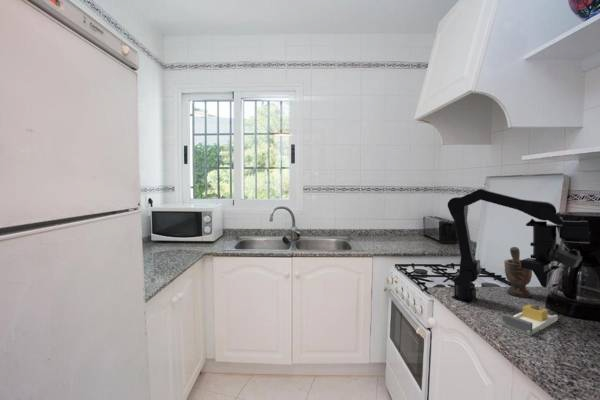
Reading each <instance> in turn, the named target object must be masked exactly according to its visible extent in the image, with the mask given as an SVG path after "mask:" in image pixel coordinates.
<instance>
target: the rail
mask: <svg viewBox="0 0 600 400" xmlns="http://www.w3.org/2000/svg"><path fill="white" fill-rule="evenodd" d="M558 318H559V317H558V314H553V315H551V314H549V313H548V318H547V319H546V320H544V321H542V322H539V321H536V320H533V319H530V318H527V317H524V316H523V310H522V311H520V312H518V313H516V314H515V315H510V314H507V313H504V314H502V326H503V327H504V326H506V327H505V328H507V327H508V328H507V329H510V328H511V329H510V330H512V329H513V331H515V330H516V331H515V332H518V331H519V332H518V333H520V332H522V333H521V334H523V333H524V335H526V334H527V336H528V335H530V336H529V337H531V336H533V335H534V333H535V334H537V333H538V332H540V331H541V329H542V330H543V329H545V328H546V327H549V326H550V325H552V324H553V323H555V322H557V321H558ZM539 330H540V331H539ZM532 334H533V335H532Z"/></svg>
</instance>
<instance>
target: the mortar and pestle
mask: <svg viewBox="0 0 600 400" xmlns="http://www.w3.org/2000/svg"><path fill="white" fill-rule="evenodd" d="M509 251H510V252H509V253H510V256H511V258H512V259H511V258H510V259H505V260H504V261H503V262H504V273H505V276H506V277H505V278H506V279H507V281H508V282H510V284H511V285H510V286H509V287H508V289H507V290H506V293H508V294H509V295H512V296H515V297H518V298H529V297H531V296H532V294H531V292H530V290H529V289H528V288H527V286H528V285H529V284H530V283H531V280H532V277H533V271H532V270H529V269H524V268H521V267H520V261H522V260H523V259H520V253H521V252H520V249H519V247H516V246H512V247H510V249H509Z"/></svg>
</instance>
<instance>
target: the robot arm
mask: <svg viewBox="0 0 600 400" xmlns="http://www.w3.org/2000/svg"><path fill="white" fill-rule="evenodd" d="M479 201H484V202H488V203H491V204H495V205H499V206H503V207H506V208H510V209H512V210H513V209H514V210H516V211H517V210H518V211H520V212H522V213H524V214H526V215H528V216H531V217H533V218H531V219H530V220H529V221H528V222H526V224H525V226H526V227H532V242H530V244H529V245H530V246H531V247H532V250H533V251H532V254H530V257H527V258H524V259H521V260H522V261H520V267H521V268H524V269H529V270H532V273H533V274H534V275H535V277H536V279H537V280H538V282H539V284H540V286H541V287H542V288H547V287H548V286H549V284H550V281H551V278H552V276H553V273H554V272H555V271H557V270H558V269H560V268H561V266H560V265H556V263H555V262H558V263H559V264H561V265H564V266H565V267H566V268H569V269H575V268H577V267H578V266H579V264H580V263H581V262H582V261H583V256H582V255H581V251H580V250H577V249H571V250H569V251H568V250H567V249H565V250H564V249H562V248H561V245H560V243H557V229H558V228H559V229H558V235H559V236H558V238H559V239H562V240H563V242H564V243H565V242H566V243H578V244H590V242H591V232H590V226H589V224H590V223H589V221H588V220H579V221H577V220H564V219H563V217H561V216H560V215H559V214H558V213H557V209H556V206H555V205H554V204H553V203H551V202H549V201H541V200H532V199H531V200H529V199H522V198H519V197H513V196H510V195H507V194H502V193H498V192H494V191H489V190H487V189H484V188H478V189H475V190H473V192H470V193H468V194H465V195H463V196H456V197H453V198H450V199H449V201H448V202H447V208H448V211H449V213H450V215H451V217H452V220H454V221H453V222H454V225H455V230H456V231H455V232H456V237H457V243H458V248H459V254H460V261H459V273H458V274H457V275H455V276H454V278H453V285H454V286H453V290H454V292H453V293H454V294H453V295H451V298H453V299H456V300H458V301H462V302H463V303H464V302H465V303H467V304H468V303H469V304H470V303H472V302H475V301H477V300H478V297H477V289H476V286H475V285H476V284H475V283H473V282H476V281H477V279H478V278H479V277H480V275H481V272H482V271H483V269H482V266H481V260H480V259H477V260H476V258H475V256H474V251H473V246H472V241H471V236H470V235H471V234H470V229H469V225H468V224H469V223H468V213H469V206H470V205H473V204H475V203H476V202H479ZM535 219H538V220H535ZM539 220H540V221H539ZM547 221H548V222H550V223H553V224H548V223H547Z"/></svg>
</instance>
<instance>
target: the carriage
mask: <svg viewBox="0 0 600 400" xmlns="http://www.w3.org/2000/svg"><path fill="white" fill-rule="evenodd" d="M522 311H523V316H524V317H527V318H530V319H533V320H536V321H539V322H542V321H544V320H546V319H547V318H548V314H549V311H548V309H547V308H543V307H540V305H538V304H526V305H524V306H522Z"/></svg>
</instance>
